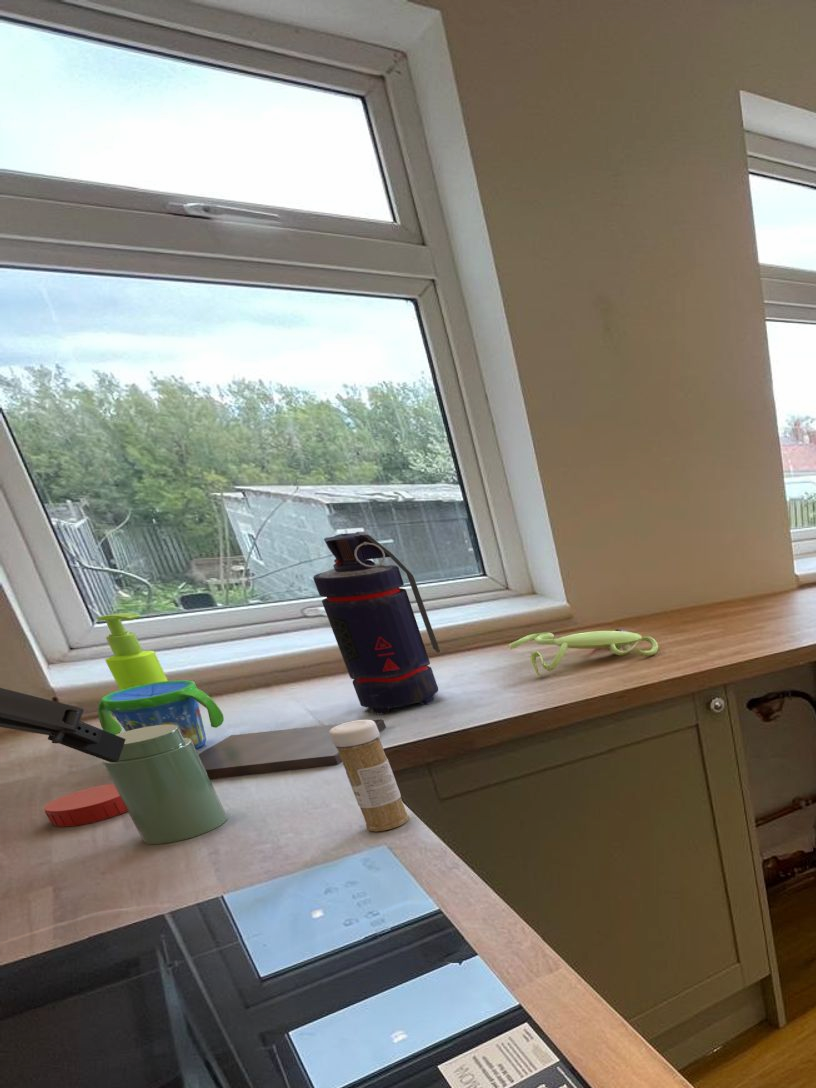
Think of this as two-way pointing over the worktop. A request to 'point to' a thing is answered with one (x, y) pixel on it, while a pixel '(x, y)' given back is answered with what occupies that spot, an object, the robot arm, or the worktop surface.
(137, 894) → the worktop surface
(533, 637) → the figurine
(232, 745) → the board
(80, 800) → the lid
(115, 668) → the soap dispenser
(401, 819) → the sprinkles bottle
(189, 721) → the snack cup
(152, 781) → the jar
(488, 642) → the worktop surface
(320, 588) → the grenade
